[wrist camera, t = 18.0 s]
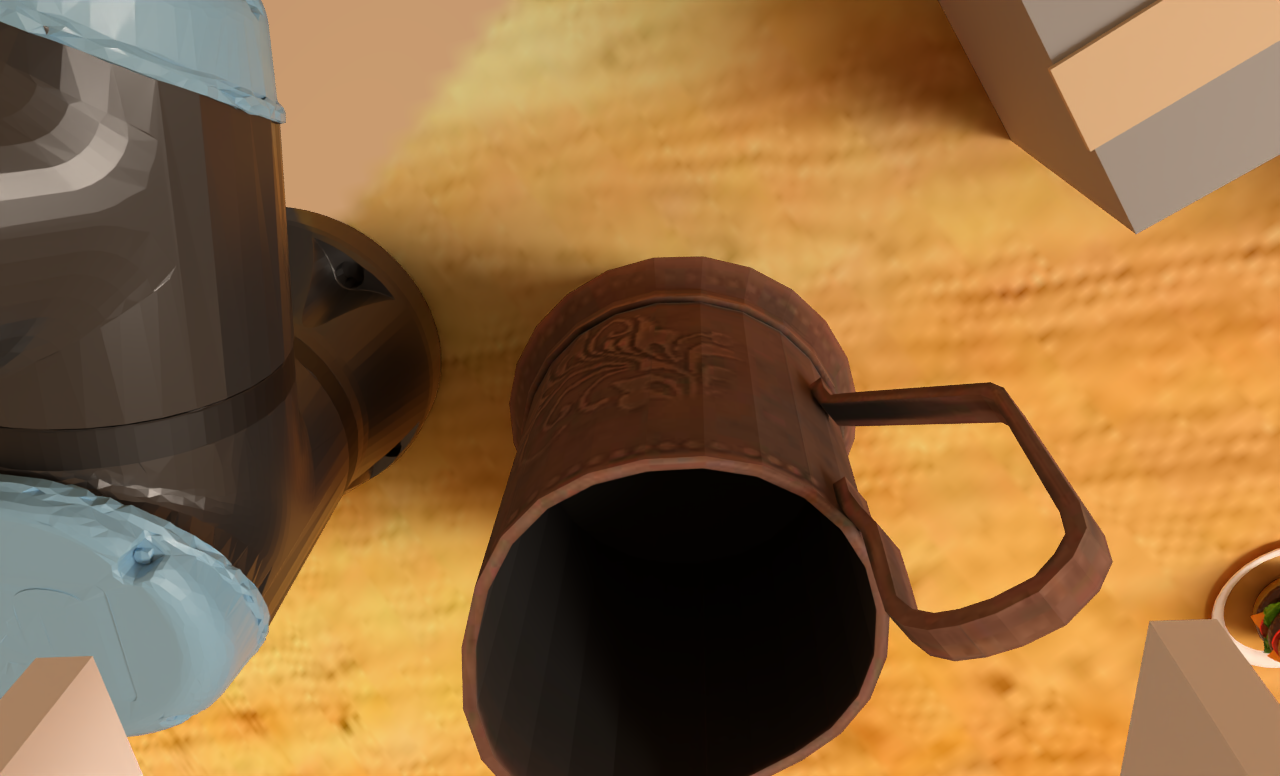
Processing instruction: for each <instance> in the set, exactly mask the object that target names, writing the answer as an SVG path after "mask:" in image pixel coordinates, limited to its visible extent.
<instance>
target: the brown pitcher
mask: <svg viewBox="0 0 1280 776" xmlns="http://www.w3.org/2000/svg"><path fill="white" fill-rule="evenodd" d="M509 404H510V413H511V422H512V431H513V440H514V445H515V447H516V450H517V453H516V456H515V460H514V463H513V466H512V469H511V472H510V476H509V479H508V482H507V485H506V489H505V492H504V495H503V498H502V501H501V505H500V508H499V511H498V514H497V518H496V521H495V524H494V527H493V530H492V534H491V537H490V540H489V543H488V547H487V550H486V553H485V556H484V560H483V563H482V566H481V569H480V572H479V576H478V579H477V582H476V585H475V589H474V594H473V598H472V603H471V607H470V612H469V617H468V621H467V626H466V630H465V635H464V639H463V644H462V680H463V710H464V713H465V715H466V718H467V721H468V724H469V727H470V729H471V732H472V735H473V738H474V741H475V743H476V746H477V749H478V752H479V754H480V757H481V760H482V761H483V762H484V763H485V764H486V765H487V766H488V768H489V769H490V770H491V771H492V772H493V773H494V774H495V775H496V776H771V775H774V774H776V773H778V772H780V771H782V770H784V769H786V768H788V767H790V766H792V765H794V764H796V763H798V762H800V761H802V760H803V759H805V758H806V757H808V756H809V755H811V754H812V753H813V752H815V751H816V750H818V749H819V748H821V747H822V746H824V745H825V744H826V743H828V742H829V741H831V740H832V739H834V738H835V737H837V736H838V735H839V734H841V733H842V732H843V730H844V729H845V728H846V727H847V726H848V725H849V723H850V722H851V721H852V720H853V719H854V718H855V716H856V715H857V714H858V713H859V712H860V710H861V709H862V708H863V707H864V706H865V705H866V703H867V702H868V701H869V700H870V698H871V696H872V693H873V691H874V688H875V686H876V683H877V680H878V678H879V675H880V673H881V670H882V668H883V665H884V663H885V660H886V658H887V649H888V633H889V617H891V619H892V620H893V621H894V622H895V623H896V624H897V625H898V626H899V628H900V629H901V630H902V631H903V632H904V633H905V634H906V635H907V637H908V638H909V639H910V640H911V641H912V642H913V643H915V644H916V645H917V646H919V647H920V648H921V649H922V650H924V651H925V652H926V653H927V654H929V655H930V656H934V657H939V658H943V659H947V660H952V661H960V660H968V659H976V658H984V657H989V656H992V655H995V654H999V653H1002V652H1005V651H1009V650H1012V649H1015V648H1019V647H1022V646H1024V645H1026V644H1029V643H1031V642H1033V641H1035V640H1037V639H1039V638H1041V637H1043V636H1045V635H1047V634H1049V633H1051V632H1053V631H1055V630H1057V629H1059V628H1061V627H1063V626H1065V625H1067V624H1068V623H1069V622H1070V621H1071V620H1072V618H1073V617H1074V616H1075V615H1076V614H1077V613H1078V612H1079V611H1080V610H1081V609H1082V608H1083V607H1084V606H1085V605H1086V604H1087V603H1088V602H1089V601H1090V600H1091V599H1092V598H1093V597H1094V596H1095V595H1096V594H1097V593H1098V592H1099V591H1100V589H1101V586H1102V584H1103V582H1104V580H1105V578H1106V575H1107V573H1108V571H1109V569H1110V567H1111V564H1112V558H1111V555H1110V552H1109V548H1108V545H1107V542H1106V538H1105V535H1104V534H1103V532H1102V531H1101V529H1100V528H1099V526H1098V525H1097V523H1096V522H1095V520H1094V519H1093V517H1092V516H1091V514H1090V513H1089V511H1088V510H1087V508H1086V507H1085V505H1084V504H1083V502H1082V501H1081V499H1080V498H1079V496H1078V495H1077V494H1076V492H1075V491H1074V489H1073V488H1072V486H1071V485H1070V483H1069V482H1068V480H1067V479H1066V477H1065V476H1064V474H1063V473H1062V471H1061V470H1060V468H1059V467H1058V465H1057V464H1056V462H1055V461H1054V459H1053V458H1052V456H1051V455H1050V453H1049V452H1048V450H1047V449H1046V447H1045V446H1044V444H1043V443H1042V441H1041V440H1040V438H1039V437H1038V435H1037V434H1036V432H1035V431H1034V429H1033V428H1032V426H1031V425H1030V423H1029V422H1028V420H1027V419H1026V417H1025V416H1024V415H1023V413H1022V412H1021V411H1020V409H1019V408H1018V406H1017V405H1016V404H1015V402H1014V401H1013V400H1012V398H1011V397H1010V396H1009V394H1008V393H1007V392H1006V390H1005V389H1004V388H1003V387H1000V386H998V385H996V384H993V383H991V382H989V383H975V384H962V385H948V386H934V387H921V388H907V389H893V390H880V391H866V392H855V387H854V383H853V379H852V375H851V371H850V366H849V362H848V358H847V356H846V355H845V353H844V351H843V350H842V348H841V346H840V345H839V343H838V341H837V339H836V338H835V336H834V334H833V333H832V331H831V329H830V328H829V326H828V324H827V322H826V321H825V320H824V319H823V318H822V317H821V316H820V315H819V314H818V313H817V312H816V311H815V310H813V309H812V308H811V307H810V306H809V305H808V304H807V303H806V302H805V301H804V300H803V299H802V298H801V297H800V296H799V295H798V294H796V293H795V292H794V291H793V290H792V289H790V288H788V287H786V286H784V285H782V284H781V283H779V282H777V281H775V280H773V279H771V278H769V277H767V276H765V275H764V274H762V273H760V272H758V271H756V270H754V269H752V268H750V267H746V266H741V265H737V264H733V263H728V262H724V261H720V260H715V259H711V258H707V257H663V258H651V259H647V260H644V261H640V262H637V263H633V264H630V265H626V266H623V267H619V268H615V269H612V270H608V271H606V272H604V273H603V274H601V275H599V276H598V277H596V278H594V279H592V280H591V281H589V282H587V283H586V284H584V285H582V286H581V287H579V288H577V289H576V290H574V291H572V292H570V293H569V294H567V295H566V296H565V297H564V298H563V299H562V300H561V301H560V302H559V303H558V304H557V306H556V307H555V308H554V309H553V310H552V311H551V312H550V313H549V314H548V315H547V316H546V317H545V318H544V319H543V320H542V321H541V322H540V323H539V324H538V325H537V326H536V328H535V330H534V332H533V334H532V336H531V338H530V340H529V342H528V343H527V345H526V347H525V349H524V351H523V353H522V355H521V357H520V359H519V361H518V363H517V366H516V371H515V377H514V382H513V387H512V393H511V398H510V403H509ZM999 422H1002V423H1004V424H1006V425H1008V426H1009V427H1010V429H1011V430H1012V432H1013V434H1014V436H1015V437H1016V439H1017V441H1018V442H1019V444H1020V446H1021V447H1022V449H1023V451H1024V452H1025V454H1026V456H1027V458H1028V459H1029V461H1030V463H1031V464H1032V466H1033V468H1034V469H1035V471H1036V473H1037V475H1038V476H1039V478H1040V480H1041V481H1042V483H1043V485H1044V486H1045V488H1046V490H1047V491H1048V493H1049V495H1050V497H1051V498H1052V500H1053V502H1054V503H1055V505H1056V507H1057V508H1058V510H1059V512H1060V515H1061V518H1062V522H1063V526H1064V530H1065V535H1064V537H1063V539H1062V541H1061V543H1060V545H1059V546H1058V548H1057V550H1056V552H1055V554H1054V555H1053V556H1052V557H1051V558H1050V559H1049V560H1048V562H1047V563H1046V564H1045V565H1044V566H1043V567H1042V568H1041V569H1040V570H1039V572H1038V573H1037V574H1036V575H1035V576H1034V577H1032V578H1030V579H1028V580H1026V581H1025V582H1023V583H1021V584H1019V585H1017V586H1015V587H1013V588H1011V589H1009V590H1007V591H1005V592H1003V593H1001V594H999V595H997V596H995V597H993V598H991V599H988V600H985V601H982V602H979V603H976V604H973V605H970V606H967V607H964V608H961V609H956V610H950V611H944V612H938V613H931V612H926V611H921V610H918V609H917V605H916V602H915V598H914V595H913V591H912V588H911V584H910V581H909V578H908V574H907V571H906V568H905V565H904V562H903V559H902V556H901V553H900V550H899V549H898V547H897V546H896V545H895V544H894V543H893V542H892V540H891V539H890V538H889V537H888V536H887V535H886V533H885V532H884V531H883V530H882V529H881V528H880V526H879V525H878V524H877V523H876V522H875V521H874V520H873V519H872V517H871V515H870V512H869V508H868V505H867V502H866V501H865V499H864V498H863V497H862V496H861V495H860V493H859V492H858V490H857V486H856V483H855V479H854V476H853V472H852V469H851V465H850V462H849V458H848V455H849V452H850V450H851V447H852V444H853V442H854V439H855V426H883V425H921V424H960V423H999Z"/></svg>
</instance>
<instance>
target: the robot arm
mask: <svg viewBox="0 0 1280 776" xmlns="http://www.w3.org/2000/svg"><path fill="white" fill-rule="evenodd" d="M282 123H286V119H285V111H284V108H283V107H282V106H281V105H280V104H279V103H278V101H277V94H276V87H275V78H274V69H273V60H272V52H271V42H270V34H269V25H268V19H267V15H266V12H265V8H264V6H263V4H262V1H261V0H0V776H143V774H142V772H141V769H140V767H139V765H138V762H137V760H136V757H135V755H134V753H133V750H132V748H131V746H130V743H129V741H128V739H127V737H130V736H139V735H144V734H149V733H155V732H158V731H161V730H165V729H168V728H171V727H173V726H176V725H179V724H181V723H183V722H185V721H186V720H188V719H189V718H190V717H191V716H192V715H195V714H198V713H199V712H200V711H202V710H205V709H206V708H208V707H209V706H211V705H212V704H213V703H214V702H215V701H216V700H217V699H218V698H219V697H220V696H221V695H222V694H223V693H224V692H225V690H226V689H227V688H228V687H229V685H230V684H231V683H232V681H233V680H234V679H235V677H236V676H237V675H238V674H239V672H240V671H241V670H242V668H243V667H244V666H245V665H246V663H247V662H248V661H249V659H250V658H251V657H252V656H253V655H255V654H256V653H257V652H258V650H259V648H260V647H261V645H262V644H263V643H264V641H265V640H266V638H265V637H266V636H267V634H268V633H269V625H270V623H271V621H272V620H273V618H274V616H275V614H276V612H277V611H278V609H279V607H280V605H281V604H282V602H283V600H284V598H285V597H286V595H287V593H288V591H289V589H290V588H291V586H292V584H293V582H294V581H295V579H296V577H297V575H298V574H299V572H300V570H301V568H302V566H303V565H304V563H305V561H306V559H307V558H308V556H309V554H310V552H311V551H312V549H313V547H314V545H315V543H316V542H317V540H318V538H319V536H320V535H321V533H322V531H323V529H324V528H325V526H326V524H327V522H328V520H329V519H330V517H331V515H332V513H333V512H334V510H335V508H336V506H337V504H338V502H339V501H340V499H341V497H342V496H343V495H344V494H346V493H348V492H349V491H351V490H353V489H354V488H356V487H358V486H359V485H361V484H363V483H364V482H366V481H368V480H369V479H371V478H372V477H374V476H376V475H378V474H379V473H381V472H382V471H383V470H385V469H386V468H388V467H389V466H390V465H392V464H393V463H394V462H395V461H396V460H397V459H398V458H399V457H400V456H401V455H402V454H403V453H404V452H405V451H406V450H407V449H408V447H409V446H410V445H411V444H412V442H413V441H414V439H415V438H416V436H417V435H418V433H419V431H420V430H421V428H422V426H423V424H424V422H425V420H426V418H427V416H428V414H429V412H430V410H431V408H432V406H433V403H434V400H435V398H436V394H437V391H438V387H439V381H440V373H441V352H440V344H439V338H438V334H437V329H436V326H435V323H434V320H433V317H432V315H431V312H430V310H429V308H428V305H427V303H426V301H425V299H424V298H423V296H422V294H421V292H420V291H419V289H418V288H417V286H416V285H415V283H414V282H413V280H412V279H411V278H410V276H409V275H408V274H407V272H406V271H405V270H404V269H403V268H402V267H401V265H400V264H399V263H398V262H397V261H396V260H395V259H394V258H393V257H392V256H391V255H390V254H389V253H387V252H386V251H385V250H384V249H383V248H382V247H380V246H379V245H378V244H376V243H375V242H374V241H373V240H371V239H370V238H368V237H367V236H365V235H364V234H362V233H361V232H359V231H357V230H355V229H354V228H352V227H350V226H348V225H346V224H344V223H342V222H340V221H337V220H335V219H332V218H330V217H327V216H324V215H321V214H318V213H314V212H310V211H307V210H301V209H296V208H288V207H286V206H285V191H284V176H283V163H282V162H283V161H282V147H281V133H280V132H281V131H280V124H282ZM1120 776H1280V704H1279V703H1278V702H1277V700H1276V699H1275V698H1274V696H1273V695H1272V693H1271V692H1270V691H1269V689H1268V688H1267V687H1266V685H1265V684H1264V683H1263V681H1262V680H1261V678H1260V677H1259V676H1258V674H1257V673H1256V672H1255V670H1254V669H1253V668H1252V666H1251V665H1250V663H1249V662H1248V661H1247V659H1246V658H1245V657H1244V655H1243V654H1242V653H1241V651H1240V650H1239V649H1238V647H1237V646H1236V644H1235V643H1234V642H1233V640H1232V639H1231V638H1230V636H1229V635H1228V634H1227V632H1226V631H1225V629H1224V628H1223V627H1222V625H1221V624H1220V623H1219V621H1218V620H1217V619H1198V620H1167V621H1149V626H1148V632H1147V637H1146V642H1145V647H1144V653H1143V658H1142V663H1141V668H1140V674H1139V679H1138V684H1137V690H1136V695H1135V700H1134V705H1133V711H1132V716H1131V721H1130V727H1129V732H1128V737H1127V742H1126V748H1125V753H1124V758H1123V763H1122V769H1121V774H1120Z"/></svg>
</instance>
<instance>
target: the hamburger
mask: <svg viewBox="0 0 1280 776" xmlns="http://www.w3.org/2000/svg"><path fill="white" fill-rule="evenodd" d="M1276 556H1280V548H1278V549H1275V550H1272V551H1270V552H1268V553H1266V554H1263V555H1261V556H1259V557H1257V558H1256V559H1254V560H1253V561H1251V562H1249V563H1248V564H1246V565H1245V566H1243V567H1242V568H1241V569H1240V570H1239V571H1237V572H1236V573H1235V574H1234V575H1233V576H1232V577H1231V578H1230V579H1229V580H1228V582H1227V583H1226V584H1225V585H1224V586H1223V588H1222V589H1221V591H1220V593H1219V595H1218V596H1217V598H1216V600H1215V603H1214V607H1213V610H1212V619H1217V620H1218V621H1219V623H1220V624H1221V625H1222V627H1223V628H1224V629H1225V631H1226V632H1227V634H1228V635H1229V636H1230V638H1231V639H1232V640H1233V642H1234V643H1235V644H1236V646H1237V647H1238V649H1239V650H1240V651H1241V653H1242V654H1243V655H1244V657H1245V658H1246V659H1247V661H1248V662H1249V663H1250V664H1251V665H1255V666H1261V667H1267V668H1280V578H1279V579H1277V580H1275V581H1273V582H1272V583H1271V584H1269V585H1268V586H1267V587H1266V588H1265V589H1264V590H1263V591H1262V592H1261V593H1260V594H1259V596H1258V597H1257V600H1256V602H1255V604H1254V608H1253V615H1252V616H1250V617H1251V618H1252V620H1253V621H1254V623H1255V626H1256V629H1257V632H1258V634H1259V635H1260V638H1261V639H1262V640H1263V641H1264V648H1265V649H1264V651H1259V650H1254V649H1252V648H1249V647H1246V646H1244V645H1243V644H1241V643H1239V642H1238V641H1236V640H1235V639H1234V638H1233V637H1232V636H1231V635H1230V633H1229V632H1228V630H1227V628H1226V626H1225V621H1224V607H1225V603H1226V600H1227V597H1228V595H1229V594H1230V592H1231V590H1232V588H1233V587H1234V586H1235V585H1236V584H1237V582H1238V581H1239V580H1240V579H1241V578H1242V577H1243V576H1244V575H1245V574H1247V573H1248V572H1249V571H1250V570H1251V569H1253V568H1255V567H1256V566H1258V565H1259V564H1261V563H1263V562H1265V561H1267V560H1269V559H1272V558H1274V557H1276ZM1267 647H1268V648H1267Z"/></svg>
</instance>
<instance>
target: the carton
mask: <svg viewBox="0 0 1280 776" xmlns="http://www.w3.org/2000/svg"><path fill="white" fill-rule="evenodd" d="M938 1H939V3H940V5H941V7H942V9H943V11H944V13H945V15H946V17H947V18H948V20H949V22H950V24H951V26H952V28H953V30H954V32H955V34H956V36H957V38H958V39H959V41H960V43H961V45H962V47H963V49H964V51H965V53H966V55H967V57H968V59H969V61H970V62H971V64H972V66H973V68H974V70H975V72H976V74H977V76H978V78H979V80H980V82H981V83H982V85H983V87H984V89H985V91H986V93H987V95H988V97H989V99H990V101H991V103H992V104H993V106H994V108H995V110H996V112H997V114H998V116H999V118H1000V120H1001V122H1002V124H1003V126H1004V127H1005V129H1006V131H1007V133H1008V135H1009V137H1010V139H1011V141H1012V142H1014V143H1015V144H1016V145H1018V146H1019V147H1020V148H1022V149H1023V150H1024V151H1026V152H1027V153H1028V154H1030V155H1031V156H1032V157H1034V158H1035V159H1036V160H1038V161H1039V162H1040V163H1042V164H1043V165H1044V166H1046V167H1047V168H1048V169H1050V170H1051V171H1052V172H1054V173H1055V174H1056V175H1058V176H1059V177H1061V178H1062V179H1063V180H1065V181H1066V182H1067V183H1069V184H1070V185H1071V186H1073V187H1074V188H1075V189H1077V190H1078V191H1079V192H1081V193H1082V194H1083V195H1085V196H1086V197H1087V198H1089V199H1090V200H1091V201H1093V202H1094V203H1095V204H1097V205H1098V206H1099V207H1101V208H1102V209H1103V210H1105V211H1106V212H1107V213H1109V214H1110V215H1111V216H1113V217H1114V218H1115V219H1117V220H1118V221H1119V222H1121V223H1122V224H1123V225H1125V226H1126V227H1127V228H1129V229H1130V230H1131V231H1133V232H1134V233H1135V234H1137V233H1139V232H1141V231H1143V230H1145V229H1146V228H1148V227H1150V226H1152V225H1154V224H1155V223H1157V222H1159V221H1161V220H1163V219H1164V218H1166V217H1168V216H1170V215H1172V214H1173V213H1175V212H1177V211H1179V210H1181V209H1182V208H1184V207H1186V206H1188V205H1190V204H1191V203H1193V202H1195V201H1197V200H1199V199H1200V198H1202V197H1204V196H1206V195H1208V194H1209V193H1211V192H1213V191H1215V190H1217V189H1219V188H1220V187H1222V186H1224V185H1226V184H1228V183H1229V182H1231V181H1233V180H1235V179H1237V178H1238V177H1240V176H1242V175H1244V174H1246V173H1247V172H1249V171H1251V170H1253V169H1255V168H1256V167H1258V166H1260V165H1262V164H1264V163H1265V162H1267V161H1269V160H1271V159H1273V158H1274V157H1276V156H1278V155H1280V0H938Z"/></svg>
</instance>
